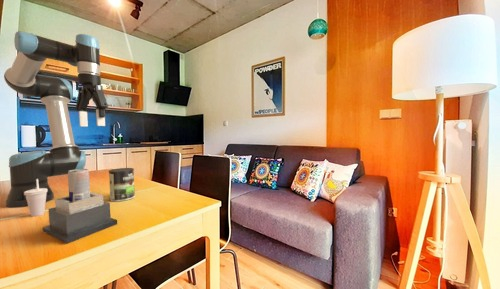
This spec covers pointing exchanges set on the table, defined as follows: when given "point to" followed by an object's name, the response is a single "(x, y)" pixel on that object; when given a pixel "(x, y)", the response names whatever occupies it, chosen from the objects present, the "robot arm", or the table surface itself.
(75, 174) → the energy drink
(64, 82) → the robot arm
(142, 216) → the table surface
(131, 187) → the coffee can
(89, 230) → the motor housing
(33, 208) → the smoothie
